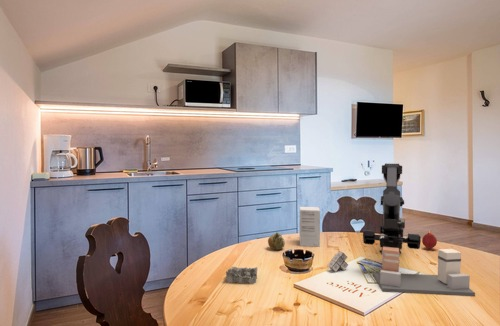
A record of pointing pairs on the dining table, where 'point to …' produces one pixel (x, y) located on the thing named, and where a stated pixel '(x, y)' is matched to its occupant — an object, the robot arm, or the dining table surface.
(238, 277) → the egg carton
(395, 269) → the salmon pink block
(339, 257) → the building blocks
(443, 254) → the white tall rectangular block
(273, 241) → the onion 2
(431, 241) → the onion
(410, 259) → the dining table surface
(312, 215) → the supplement box
